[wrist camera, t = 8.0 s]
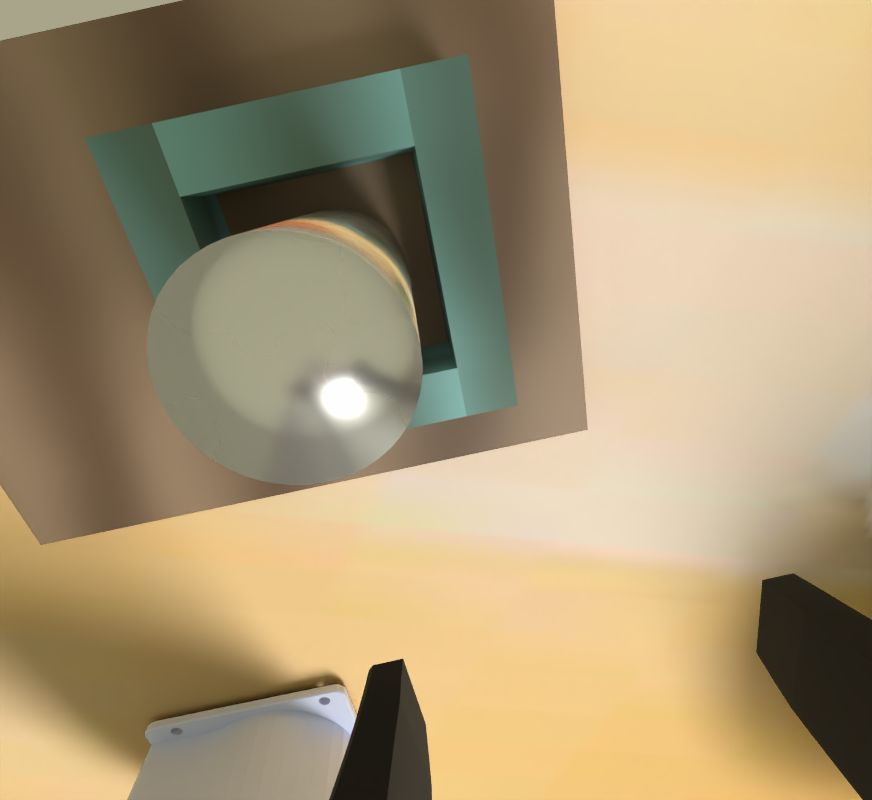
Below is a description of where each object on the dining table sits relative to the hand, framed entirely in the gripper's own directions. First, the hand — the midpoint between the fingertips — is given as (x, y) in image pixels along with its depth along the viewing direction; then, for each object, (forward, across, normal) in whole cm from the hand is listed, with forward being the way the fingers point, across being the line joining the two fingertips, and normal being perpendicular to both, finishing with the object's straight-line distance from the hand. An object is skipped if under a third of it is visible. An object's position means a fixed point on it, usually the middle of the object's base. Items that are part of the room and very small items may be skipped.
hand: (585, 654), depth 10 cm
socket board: (+9, +7, -7) cm, 14 cm away
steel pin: (+8, +4, -7) cm, 12 cm away
